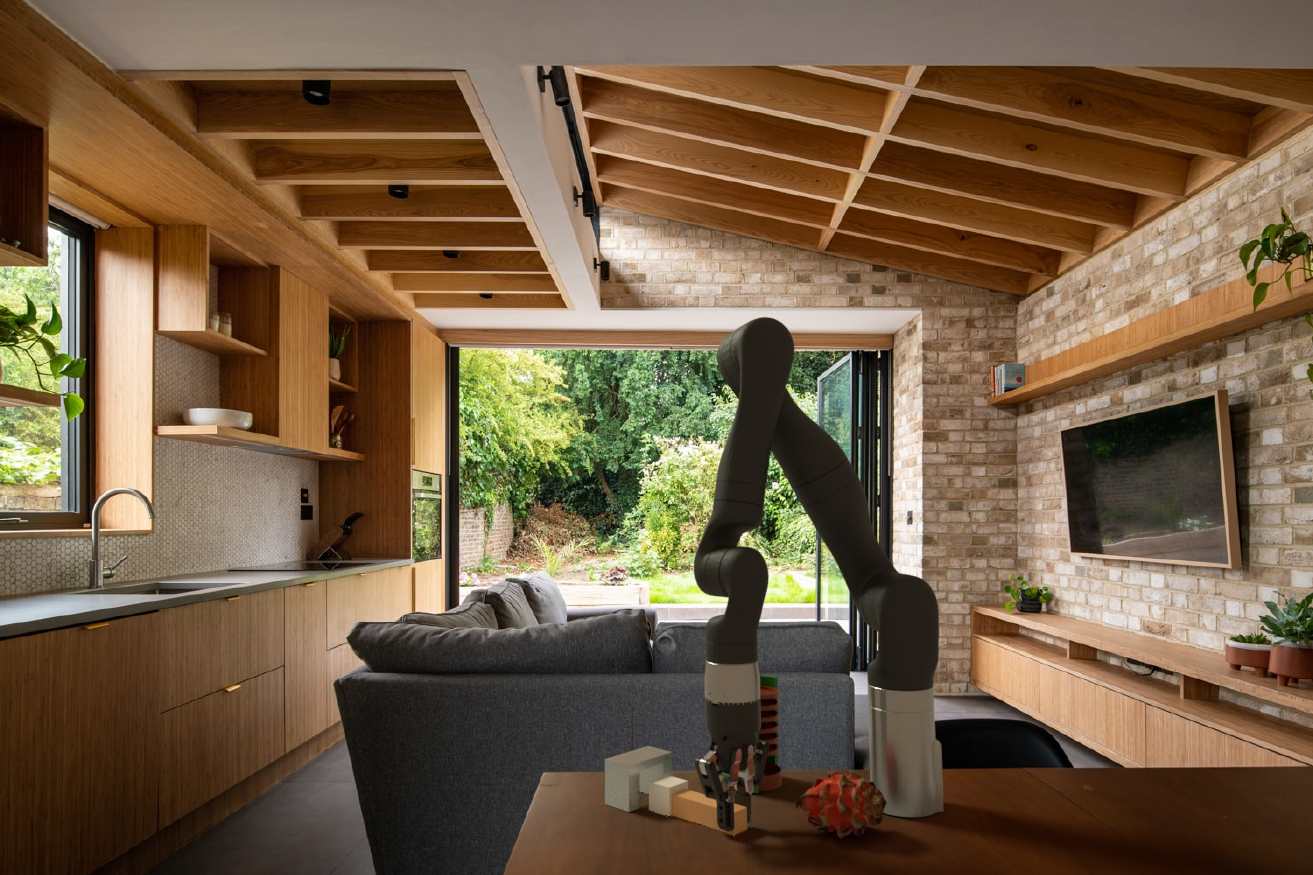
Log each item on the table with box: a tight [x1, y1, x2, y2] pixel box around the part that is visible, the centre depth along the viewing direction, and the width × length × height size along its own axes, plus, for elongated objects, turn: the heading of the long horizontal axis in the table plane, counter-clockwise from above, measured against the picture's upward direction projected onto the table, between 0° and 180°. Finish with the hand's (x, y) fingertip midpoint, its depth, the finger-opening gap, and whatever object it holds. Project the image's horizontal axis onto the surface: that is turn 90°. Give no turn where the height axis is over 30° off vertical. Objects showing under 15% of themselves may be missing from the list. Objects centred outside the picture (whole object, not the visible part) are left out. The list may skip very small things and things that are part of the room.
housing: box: [604, 745, 673, 813], centre depth 127 cm, size 5×9×6 cm, turn 137°
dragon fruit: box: [794, 770, 887, 839], centre depth 114 cm, size 8×8×12 cm
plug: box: [648, 775, 748, 836], centre depth 119 cm, size 15×4×4 cm, turn 47°
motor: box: [723, 674, 783, 794], centre depth 134 cm, size 10×9×20 cm
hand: (734, 825), depth 114 cm, fingers closed on plug, 3 cm apart
